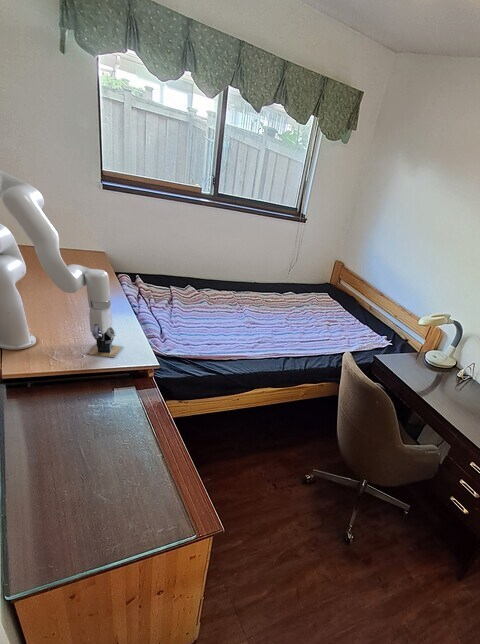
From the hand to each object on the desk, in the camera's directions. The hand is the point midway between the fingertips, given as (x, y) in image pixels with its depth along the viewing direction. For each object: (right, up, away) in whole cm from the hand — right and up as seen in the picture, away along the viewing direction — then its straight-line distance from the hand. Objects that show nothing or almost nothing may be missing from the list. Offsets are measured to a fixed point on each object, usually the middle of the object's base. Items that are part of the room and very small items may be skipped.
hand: (104, 344), depth 156 cm
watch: (-1, -2, +2) cm, 3 cm away
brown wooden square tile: (-1, -2, +2) cm, 3 cm away
